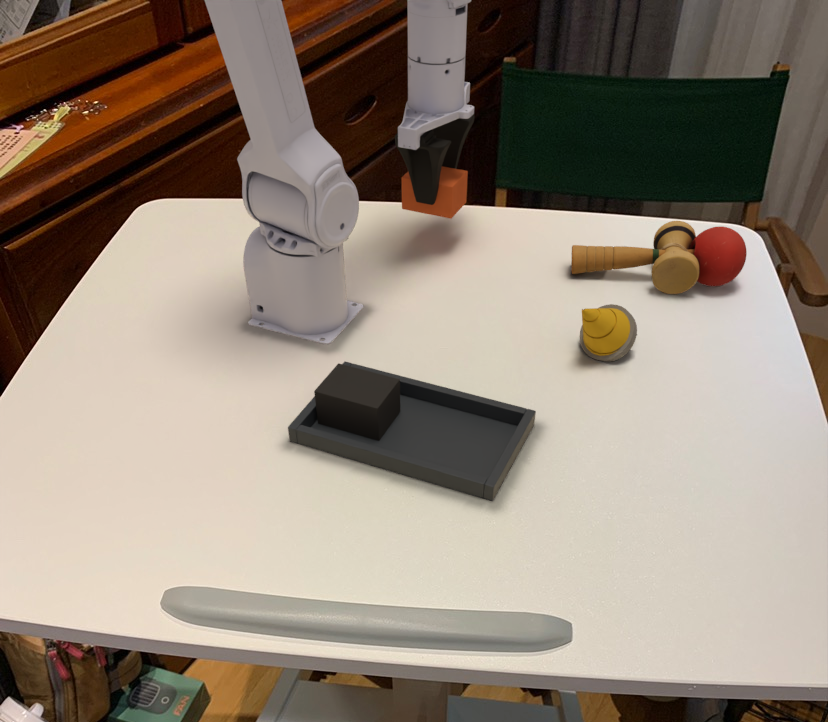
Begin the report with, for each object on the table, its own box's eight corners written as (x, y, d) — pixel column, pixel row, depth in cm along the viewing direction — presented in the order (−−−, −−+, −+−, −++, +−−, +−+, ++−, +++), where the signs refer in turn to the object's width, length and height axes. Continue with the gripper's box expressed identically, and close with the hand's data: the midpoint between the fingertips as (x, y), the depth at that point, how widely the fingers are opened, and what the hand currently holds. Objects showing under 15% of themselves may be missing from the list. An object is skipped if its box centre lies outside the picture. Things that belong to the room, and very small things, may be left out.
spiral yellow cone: (646, 365, 80) (612, 332, 71) (593, 374, 82) (554, 344, 74) (645, 312, 80) (611, 273, 72) (593, 323, 83) (554, 287, 75)
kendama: (570, 304, 89) (747, 296, 85) (570, 244, 85) (756, 233, 81) (572, 281, 95) (737, 272, 91) (572, 224, 91) (744, 212, 87)
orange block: (401, 209, 92) (401, 177, 89) (417, 193, 94) (417, 161, 92) (451, 219, 90) (452, 186, 87) (466, 202, 93) (468, 170, 90)
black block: (317, 423, 72) (313, 391, 70) (341, 395, 75) (338, 362, 72) (379, 441, 71) (377, 408, 68) (400, 411, 73) (400, 378, 71)
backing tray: (290, 445, 71) (287, 427, 70) (346, 378, 78) (344, 360, 76) (492, 505, 66) (493, 487, 64) (533, 428, 72) (536, 410, 71)
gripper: (446, 84, 75) (442, 227, 85) (499, 39, 84) (491, 173, 94) (376, 74, 77) (381, 215, 87) (436, 31, 86) (434, 163, 96)
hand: (434, 193), depth 91 cm, fingers closed on orange block, 4 cm apart
